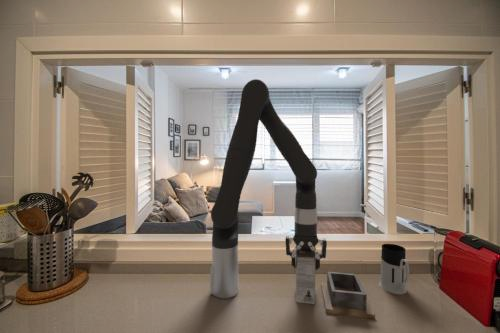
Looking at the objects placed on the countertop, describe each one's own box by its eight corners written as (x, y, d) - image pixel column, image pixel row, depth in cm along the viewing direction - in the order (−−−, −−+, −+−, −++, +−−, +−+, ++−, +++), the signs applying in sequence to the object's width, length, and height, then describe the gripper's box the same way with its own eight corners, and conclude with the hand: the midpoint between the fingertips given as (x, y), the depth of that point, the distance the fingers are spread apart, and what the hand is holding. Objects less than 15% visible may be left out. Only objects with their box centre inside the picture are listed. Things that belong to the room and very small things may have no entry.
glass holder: (398, 281, 91) (399, 243, 91) (421, 304, 77) (422, 259, 77) (375, 280, 92) (375, 242, 92) (393, 303, 78) (394, 258, 78)
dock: (325, 312, 73) (326, 293, 73) (321, 285, 89) (321, 269, 89) (374, 318, 70) (375, 298, 70) (361, 289, 86) (361, 272, 86)
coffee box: (296, 287, 88) (296, 244, 87) (313, 289, 86) (314, 246, 86) (295, 302, 79) (295, 254, 78) (315, 304, 77) (316, 256, 77)
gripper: (283, 222, 79) (283, 271, 80) (328, 224, 76) (328, 275, 77) (285, 216, 86) (285, 261, 87) (326, 218, 84) (325, 265, 84)
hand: (305, 267), depth 82 cm, fingers open, 7 cm apart
